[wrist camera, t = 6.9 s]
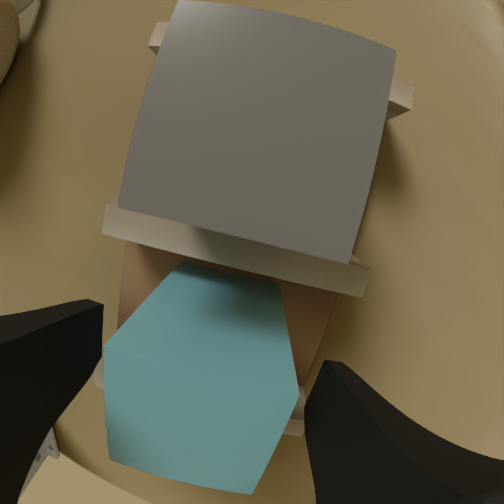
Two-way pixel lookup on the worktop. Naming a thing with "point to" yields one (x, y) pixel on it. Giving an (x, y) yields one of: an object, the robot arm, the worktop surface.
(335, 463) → the robot arm
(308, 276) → the brown tray
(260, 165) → the grey plug
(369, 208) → the worktop surface
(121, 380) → the teal plug
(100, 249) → the worktop surface
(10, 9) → the ceramic mug
